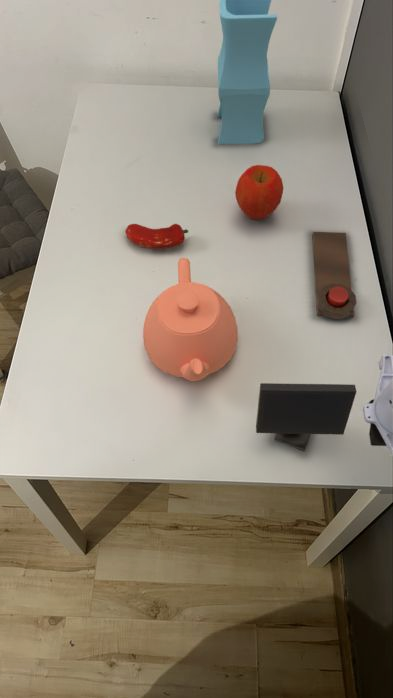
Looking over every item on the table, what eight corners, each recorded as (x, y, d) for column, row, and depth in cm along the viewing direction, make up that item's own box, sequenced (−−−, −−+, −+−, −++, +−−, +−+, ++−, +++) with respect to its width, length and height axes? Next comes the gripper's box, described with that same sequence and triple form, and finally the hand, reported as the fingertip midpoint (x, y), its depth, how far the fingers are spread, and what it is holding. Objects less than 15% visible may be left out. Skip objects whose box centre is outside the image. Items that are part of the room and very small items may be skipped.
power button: (347, 308, 82) (349, 302, 81) (327, 307, 82) (329, 301, 81) (345, 292, 84) (347, 286, 82) (326, 291, 84) (328, 285, 83)
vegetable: (187, 215, 91) (124, 220, 93) (184, 228, 87) (118, 234, 89) (191, 238, 94) (129, 242, 96) (188, 251, 90) (124, 256, 92)
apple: (243, 238, 93) (246, 194, 84) (227, 207, 97) (228, 162, 88) (285, 226, 94) (294, 181, 85) (268, 196, 98) (274, 150, 89)
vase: (264, 143, 106) (277, 17, 84) (217, 144, 106) (219, 18, 84) (261, 113, 111) (274, -13, 89) (217, 114, 111) (218, -12, 89)
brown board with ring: (353, 322, 83) (357, 314, 81) (316, 321, 84) (319, 312, 81) (345, 235, 93) (348, 226, 90) (311, 234, 93) (314, 225, 91)
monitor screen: (343, 435, 69) (356, 391, 63) (256, 433, 69) (260, 390, 63) (342, 427, 70) (355, 384, 63) (255, 426, 70) (260, 383, 64)
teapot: (247, 403, 77) (253, 366, 66) (149, 414, 76) (139, 379, 66) (227, 288, 87) (230, 240, 77) (142, 297, 87) (132, 250, 76)
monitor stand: (304, 451, 73) (312, 435, 67) (274, 439, 74) (279, 423, 68) (313, 423, 75) (321, 406, 69) (283, 412, 76) (289, 394, 70)
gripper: (366, 334, 54) (339, 387, 66) (387, 465, 47) (352, 498, 59) (432, 335, 54) (393, 388, 66) (463, 467, 47) (413, 500, 59)
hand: (378, 440), depth 63 cm, fingers closed
